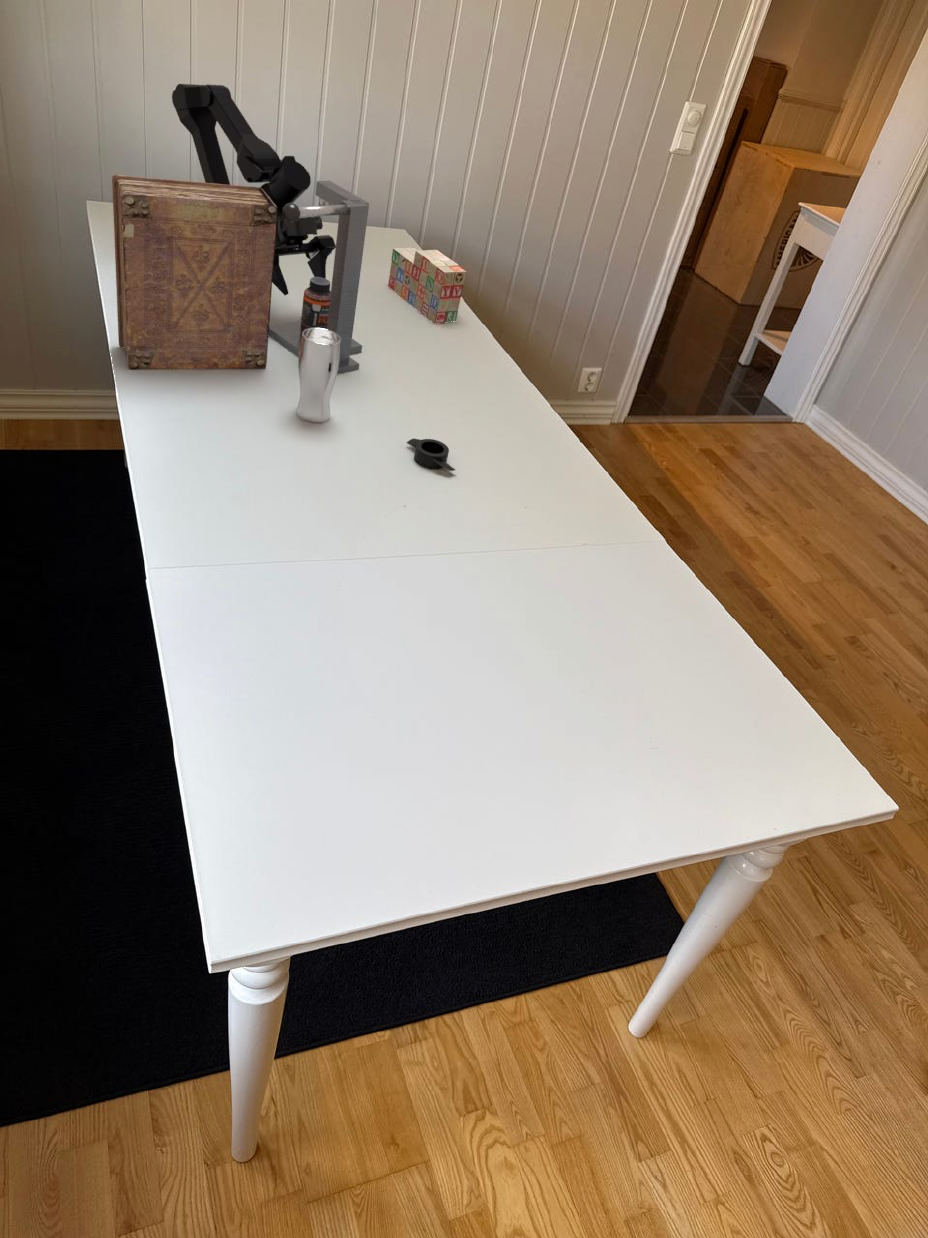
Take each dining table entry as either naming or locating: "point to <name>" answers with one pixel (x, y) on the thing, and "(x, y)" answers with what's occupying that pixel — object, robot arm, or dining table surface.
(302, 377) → the beer glass
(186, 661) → the dining table surface
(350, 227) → the arbor press
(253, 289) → the book
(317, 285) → the supplement bottle
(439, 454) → the black winged ring
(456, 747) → the dining table surface
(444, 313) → the stack of blocks
